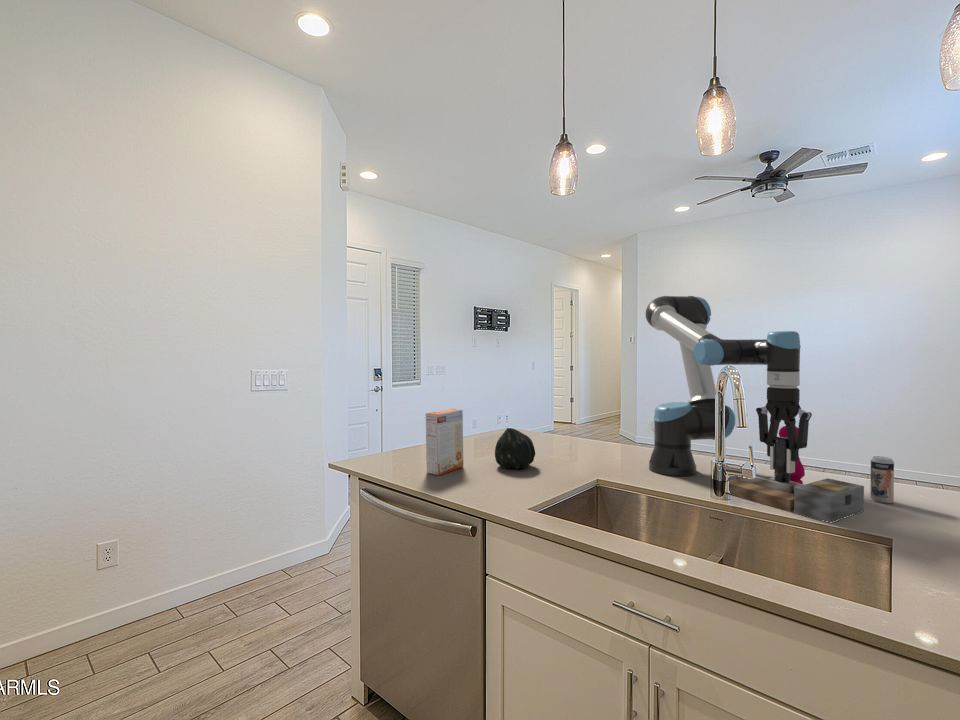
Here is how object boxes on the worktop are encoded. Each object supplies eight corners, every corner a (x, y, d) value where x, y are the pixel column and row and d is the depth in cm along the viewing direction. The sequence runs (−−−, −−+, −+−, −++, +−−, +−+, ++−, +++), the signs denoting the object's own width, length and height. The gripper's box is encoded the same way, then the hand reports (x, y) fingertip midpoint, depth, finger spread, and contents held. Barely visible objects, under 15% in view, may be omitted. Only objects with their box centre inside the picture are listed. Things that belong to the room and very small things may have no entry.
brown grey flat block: (722, 492, 129) (722, 468, 129) (756, 483, 137) (756, 461, 137) (831, 523, 105) (831, 494, 105) (863, 511, 113) (864, 484, 113)
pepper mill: (809, 489, 131) (810, 422, 131) (782, 488, 132) (783, 422, 132) (797, 482, 138) (797, 419, 138) (771, 481, 139) (772, 418, 139)
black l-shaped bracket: (767, 485, 124) (767, 436, 124) (774, 483, 126) (774, 435, 126) (815, 497, 114) (816, 444, 113) (822, 495, 115) (823, 443, 115)
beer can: (866, 499, 122) (866, 456, 121) (876, 497, 124) (876, 455, 123) (888, 505, 117) (888, 460, 117) (897, 502, 119) (898, 458, 119)
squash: (544, 448, 163) (517, 417, 165) (540, 459, 149) (511, 426, 150) (516, 471, 166) (490, 441, 168) (509, 485, 152) (481, 451, 153)
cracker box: (451, 464, 161) (451, 408, 161) (464, 467, 158) (463, 409, 157) (425, 473, 150) (424, 412, 150) (438, 476, 146) (438, 413, 146)
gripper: (744, 385, 127) (744, 465, 128) (809, 389, 113) (809, 480, 113) (759, 384, 131) (759, 462, 131) (824, 388, 116) (823, 476, 117)
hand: (782, 470), depth 122 cm, fingers closed on black l-shaped bracket, 4 cm apart
